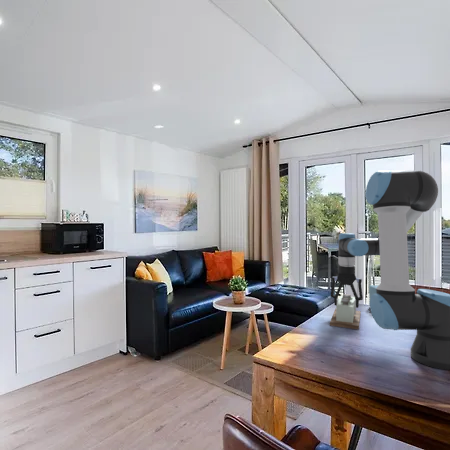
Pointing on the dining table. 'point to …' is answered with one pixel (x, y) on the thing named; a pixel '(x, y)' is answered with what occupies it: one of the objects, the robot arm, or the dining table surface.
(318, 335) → the dining table surface
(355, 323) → the board
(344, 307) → the two-pocket foam insert
